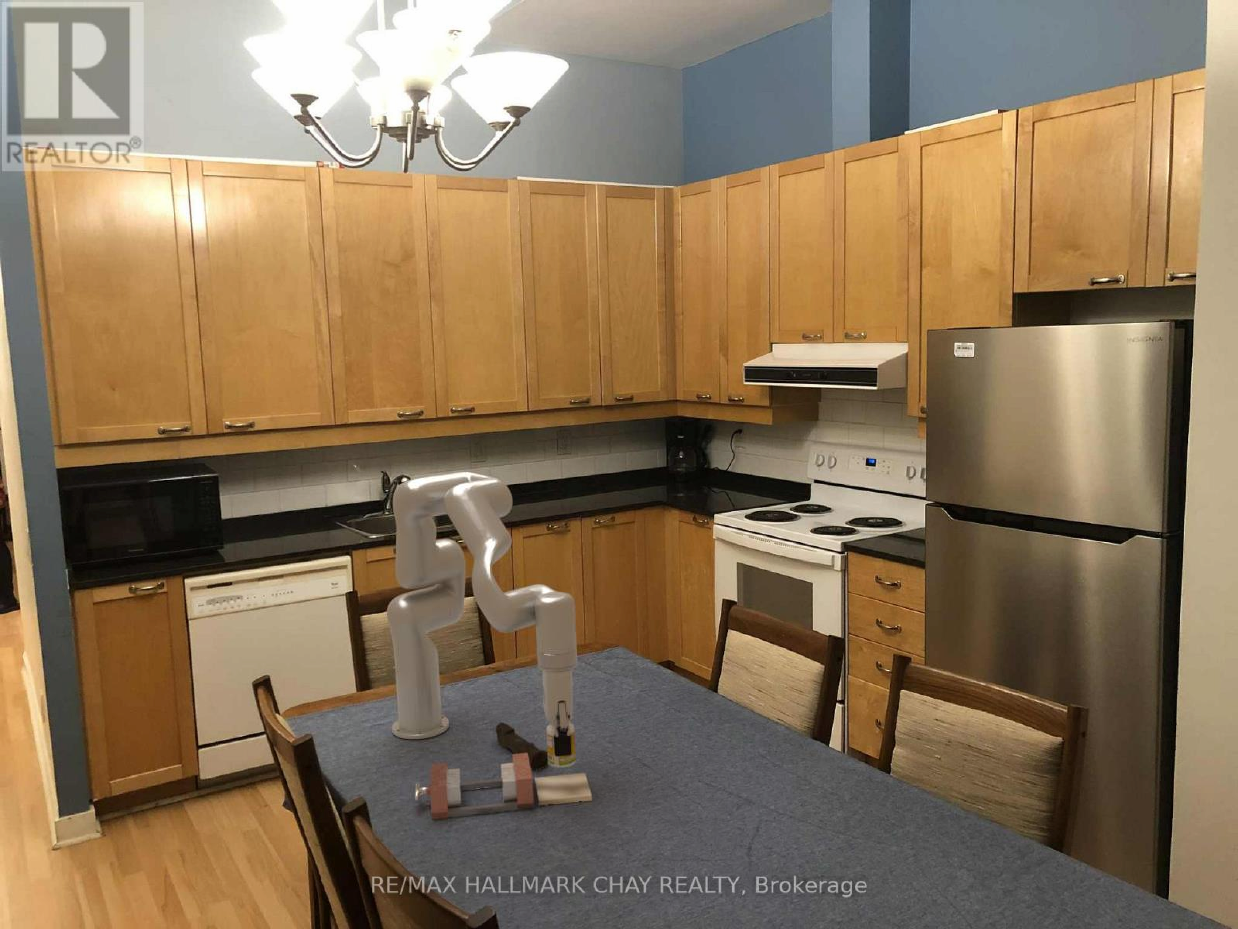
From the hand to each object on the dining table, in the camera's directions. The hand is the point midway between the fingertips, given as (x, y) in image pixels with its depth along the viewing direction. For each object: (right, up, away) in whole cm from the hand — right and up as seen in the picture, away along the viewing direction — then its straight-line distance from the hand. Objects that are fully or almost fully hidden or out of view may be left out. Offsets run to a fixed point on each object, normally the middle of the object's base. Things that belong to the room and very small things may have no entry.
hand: (561, 747), depth 196 cm
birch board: (0, -9, +1) cm, 9 cm away
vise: (-17, -10, -1) cm, 19 cm away
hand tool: (-10, -7, +19) cm, 23 cm away
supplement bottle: (0, -3, 0) cm, 3 cm away
